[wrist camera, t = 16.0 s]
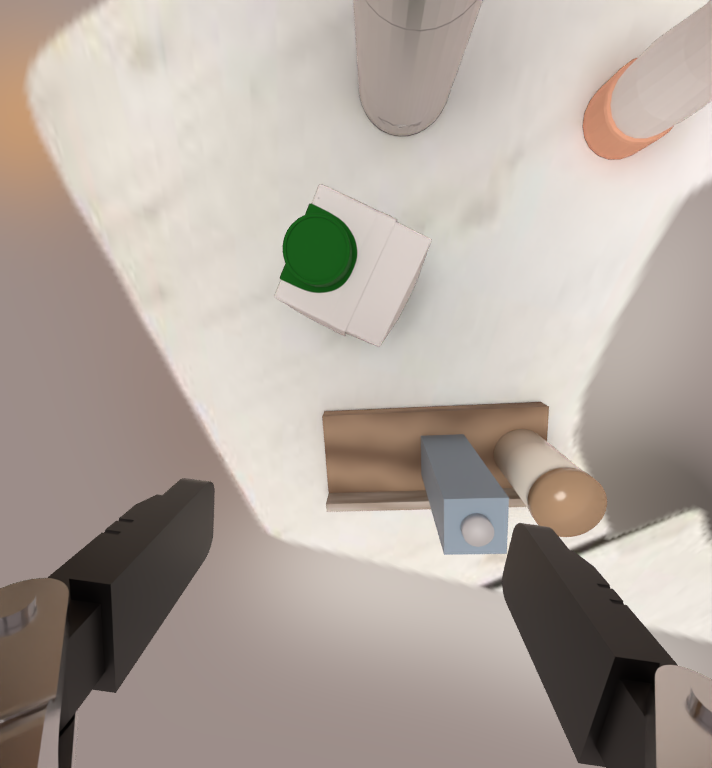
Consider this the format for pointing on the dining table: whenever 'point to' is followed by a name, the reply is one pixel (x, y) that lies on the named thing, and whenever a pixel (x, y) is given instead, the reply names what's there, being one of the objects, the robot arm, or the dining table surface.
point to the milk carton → (350, 266)
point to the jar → (550, 483)
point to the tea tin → (463, 497)
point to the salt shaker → (653, 90)
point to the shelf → (411, 450)
